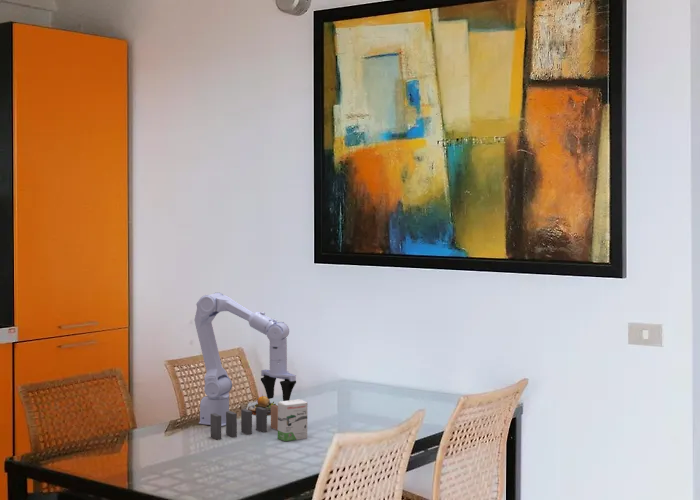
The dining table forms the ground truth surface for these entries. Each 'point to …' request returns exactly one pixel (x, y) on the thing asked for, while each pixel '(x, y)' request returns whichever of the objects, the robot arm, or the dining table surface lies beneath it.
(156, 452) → the dining table surface
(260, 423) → the tile
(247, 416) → the tile
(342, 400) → the dining table surface
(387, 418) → the dining table surface
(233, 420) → the tile
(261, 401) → the burger
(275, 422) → the tile
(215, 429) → the tile
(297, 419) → the ink box
